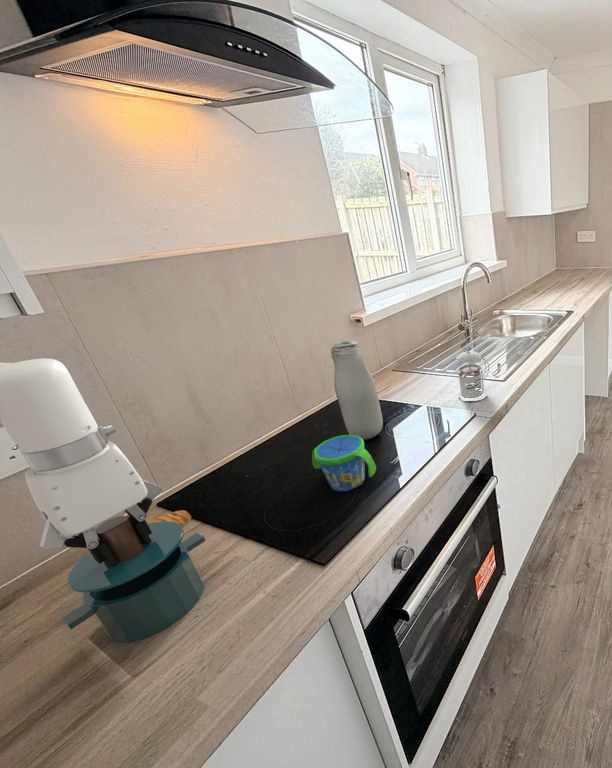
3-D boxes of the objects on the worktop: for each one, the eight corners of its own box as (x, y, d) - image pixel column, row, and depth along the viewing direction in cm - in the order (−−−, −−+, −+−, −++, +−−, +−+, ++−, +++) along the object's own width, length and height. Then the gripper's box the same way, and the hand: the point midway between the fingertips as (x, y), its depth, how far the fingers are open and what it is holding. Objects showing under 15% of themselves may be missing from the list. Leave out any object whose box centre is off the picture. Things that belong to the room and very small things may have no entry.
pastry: (180, 514, 90) (173, 500, 88) (200, 521, 88) (193, 506, 86) (130, 545, 82) (122, 530, 81) (151, 553, 80) (142, 538, 78)
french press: (452, 395, 138) (442, 322, 128) (481, 385, 144) (474, 315, 134) (468, 405, 130) (458, 328, 120) (498, 394, 136) (491, 320, 126)
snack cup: (390, 476, 98) (382, 439, 94) (359, 504, 89) (348, 465, 85) (340, 465, 104) (330, 429, 100) (306, 490, 95) (294, 452, 91)
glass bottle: (373, 424, 122) (352, 333, 111) (392, 434, 116) (372, 339, 105) (342, 438, 116) (316, 343, 105) (360, 450, 109) (335, 350, 98)
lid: (54, 577, 61) (30, 543, 58) (158, 517, 72) (142, 486, 69) (95, 609, 55) (71, 573, 53) (202, 539, 66) (186, 506, 64)
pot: (72, 641, 63) (43, 602, 60) (196, 556, 78) (179, 521, 75) (110, 676, 58) (81, 635, 55) (236, 578, 73) (219, 541, 69)
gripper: (128, 417, 64) (175, 510, 71) (-35, 478, 51) (44, 585, 58) (152, 425, 61) (199, 522, 68) (-14, 493, 47) (66, 604, 55)
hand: (127, 550), depth 63 cm, fingers closed on lid, 3 cm apart
